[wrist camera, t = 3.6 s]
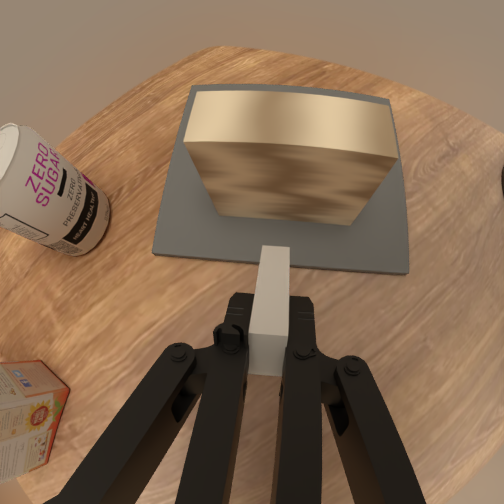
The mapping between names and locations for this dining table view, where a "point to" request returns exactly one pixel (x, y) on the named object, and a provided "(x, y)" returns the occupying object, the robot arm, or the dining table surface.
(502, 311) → the dining table surface
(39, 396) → the cracker box
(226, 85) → the mat
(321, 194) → the wooden block
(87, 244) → the supplement can
